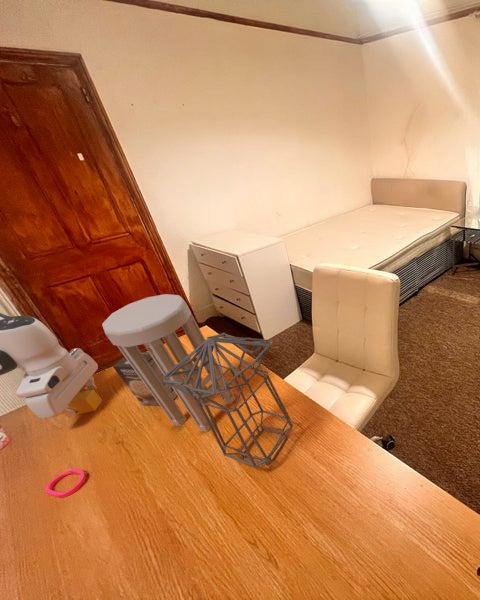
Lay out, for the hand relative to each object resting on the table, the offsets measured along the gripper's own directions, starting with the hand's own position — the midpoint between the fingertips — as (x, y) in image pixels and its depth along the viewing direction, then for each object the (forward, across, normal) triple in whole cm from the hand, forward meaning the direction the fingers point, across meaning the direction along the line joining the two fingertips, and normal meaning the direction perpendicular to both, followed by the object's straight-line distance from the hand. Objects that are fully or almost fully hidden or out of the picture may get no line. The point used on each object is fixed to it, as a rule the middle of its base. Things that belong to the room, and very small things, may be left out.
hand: (83, 402), depth 92 cm
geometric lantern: (+3, +30, +54) cm, 62 cm away
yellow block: (+2, 0, 0) cm, 3 cm away
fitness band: (+3, +26, +9) cm, 28 cm away
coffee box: (+3, +3, +21) cm, 21 cm away
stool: (+3, +13, +36) cm, 38 cm away
